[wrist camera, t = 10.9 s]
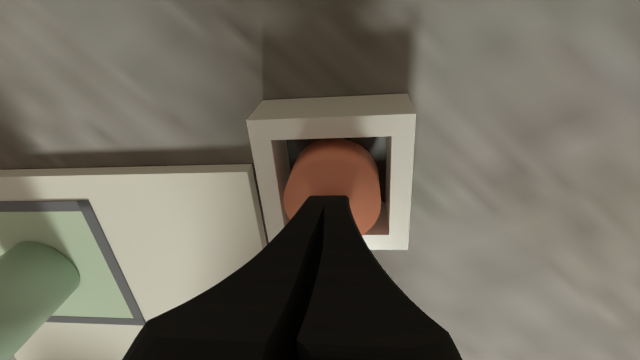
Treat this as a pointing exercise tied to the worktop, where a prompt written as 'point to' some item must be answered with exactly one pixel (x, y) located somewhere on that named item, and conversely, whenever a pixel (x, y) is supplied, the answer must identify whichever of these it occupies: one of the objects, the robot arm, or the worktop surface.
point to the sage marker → (31, 291)
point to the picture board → (129, 244)
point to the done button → (336, 179)
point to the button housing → (337, 122)
